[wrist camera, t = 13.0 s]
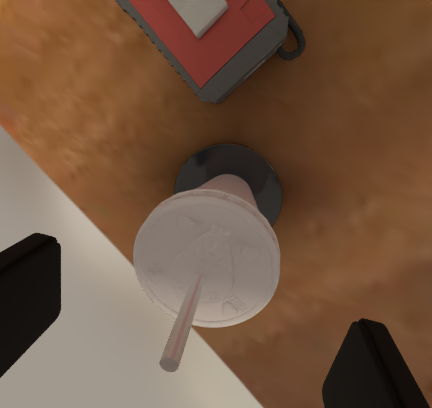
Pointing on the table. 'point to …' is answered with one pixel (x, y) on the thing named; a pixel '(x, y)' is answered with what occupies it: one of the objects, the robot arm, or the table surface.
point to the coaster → (235, 165)
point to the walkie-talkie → (216, 38)
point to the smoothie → (207, 259)
